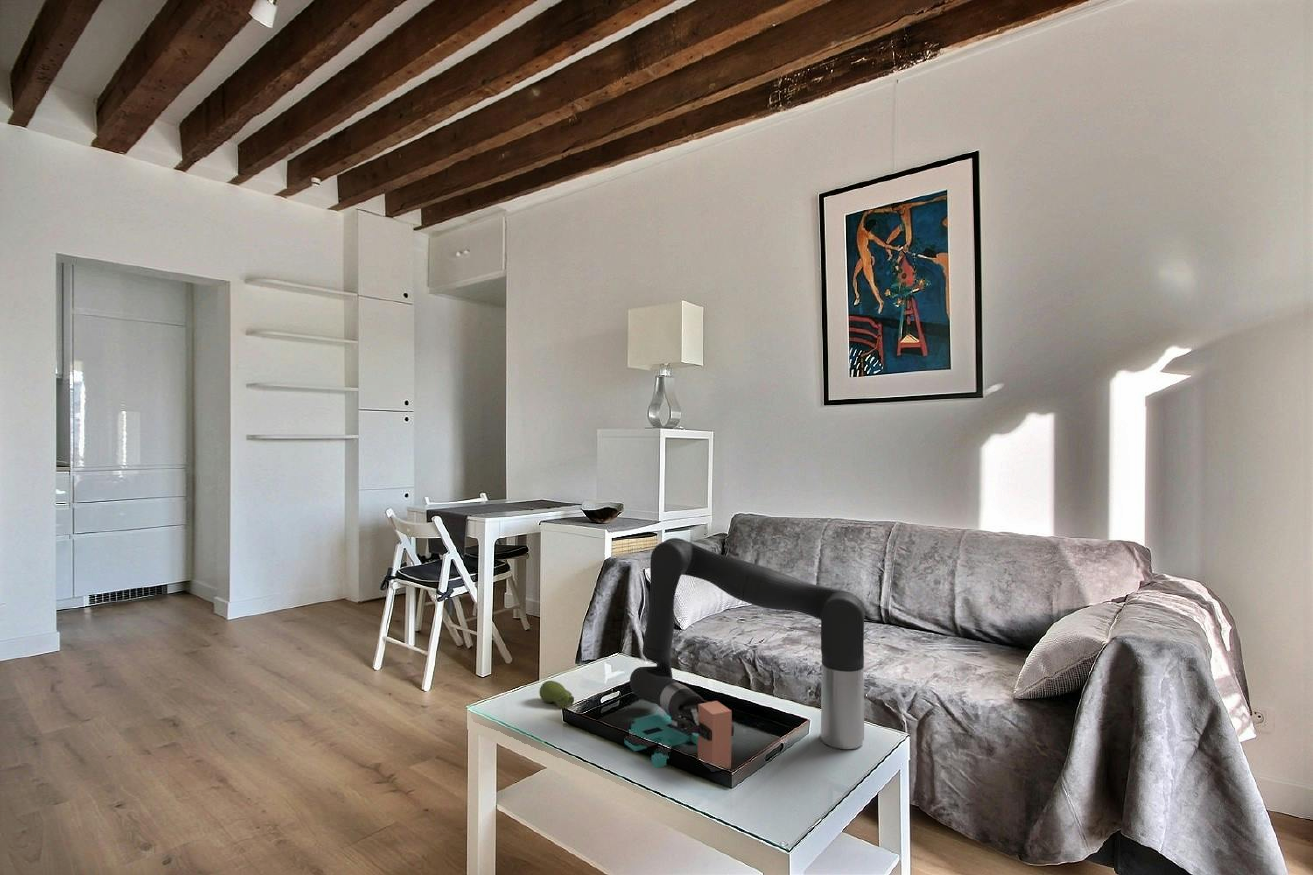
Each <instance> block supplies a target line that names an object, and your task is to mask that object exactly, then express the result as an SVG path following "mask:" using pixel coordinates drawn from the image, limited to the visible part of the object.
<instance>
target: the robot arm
mask: <svg viewBox="0 0 1313 875" xmlns="http://www.w3.org/2000/svg"><path fill="white" fill-rule="evenodd" d="M649 564H650V566H649V568H650V571H649V572H650V574H649V575H650V576H649V578H650V579H649V580H650V584H649V585H650V587H649V589H650V590H649V603H648V612H647V618H646V625H645V631H644V637H643V643H642V655H643V657H644V658H645V659H647V660H649V661H652V662H656V665H655V666H654V665H653V666H651V665H650V666H639V667H636V668H635V669H634V670H633V671H632V672H631V674H630V676H629V685H630V686H629V687H630V688H631V690H632V692H633V694H634V695H635V697H637V698H639V699H641V700H643V701H646V702H649V703H651V704H654V705H657V706H658V707H659V708H661V709H662V710H663V711H664V713H666V715H669V716H670V717H671V728H673V729H675V730H677V731H680V732H682V733H684V734H686V735H692V733H695V734H696V735H700V736H701V737H703V738H704V739H706V740H708V741H711V740H712V731H711V729H709V728H708V727H707V726H705V725H704V724H701V721H699V720H698V704H702V703H706V701H705V700H704V698H703V697H702V696H701V695H699V694H698V693H696V692H695V691H694V690H692V689H691V688H689V686H686V685H684V684H682V683H680V682H679V681H678V680H676V679H674V678H673V671H672V670H673V669H672V660H671V658H672V657H671V650H672V645H673V639H674V632H675V611H674V610H675V608H674V606H675V597H676V592H677V588H678V585H679V581H680V579H681V576H682V575H683V576H687V577H688V576H689V577H692V578H696V579H699V580H703V581H705V582H709V583H711V584H713V585H714V586H715V587H717V588H718V589H719V590H721V591H723V592H724V593H726V594H728V595H729V596H730V597H732V598H734V599H737V600H739V601H742V602H743V603H744V602H745V603H746V604H750V605H753V606H757V607H760V608H763V609H768V610H769V609H771V610H777V611H789V612H796V613H801V614H805V615H808V616H810V617H813V618H815V619H818V620H820V653H821V689H820V690H821V691H820V693H821V694H820V695H821V696H820V697H821V698H820V700H821V703H820V704H821V705H820V710H821V711H820V740H821V742H822V743H824V744H826V745H827V746H829V747H832V748H836V749H841V750H852V749H853V750H855V749H858V748H861V747H862V746H863V744H864V743H863V742H864V739H865V697H864V685H865V684H864V680H865V679H864V677H865V676H864V672H865V670H864V669H865V666H864V665H865V656H864V655H865V653H864V652H865V651H864V650H865V649H864V644H865V642H864V640H865V638H864V637H865V636H864V635H865V617H866V608H865V606H864V604H863V602H862V600H861V599H860V598H859V597H858V596H857V595H855V594H854V593H852V592H850V591H847V590H843V589H842V590H841V589H838V588H831V587H827V586H822V585H817V584H813V583H811V582H807V581H804V580H802V579H799V578H796V577H793V576H791V575H788V574H785V573H783V572H780V571H777V570H774V569H772V568H768V567H767V566H764V565H760V564H757V563H753V562H749V561H745V560H742V559H739V558H734V557H731V556H727V555H724V554H719V553H717V552H713V551H710V550H708V549H706V548H703V547H701V546H699V545H697V544H694V543H692V542H690V541H688V540H685V539H682V538H679V537H673V538H672V537H671V538H668V539H666V540H664V541H662V542H660V543H659V544H657V545H656V546H655V547H654V548H653V549H652V552H651V554H650V563H649ZM734 733H735V726H734V725H733V724H732V725H731V737H733V736H734Z"/></svg>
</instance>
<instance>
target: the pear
mask: <svg viewBox="0 0 1313 875" xmlns="http://www.w3.org/2000/svg"><path fill="white" fill-rule="evenodd" d="M539 696H540V699H541V700H542V701H543V702H545V703H555V704H556V707H557V708H559V709H562V710H565V709H566V708H565V707H568V708H570V707H572V706H573V705H574V702H575V697H574V696H573V695H572V693H571V691H569V690H568V689H566V688H565V687H564V686H563V685H562V683H561V682H560V683H559V682H558V681H555V680H546V681H544V682H543V683H542V684H541V686H540V687H539ZM571 705H572V706H571ZM569 706H570V707H569ZM564 708H565V709H564Z"/></svg>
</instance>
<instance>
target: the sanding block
mask: <svg viewBox="0 0 1313 875" xmlns="http://www.w3.org/2000/svg"><path fill="white" fill-rule="evenodd" d="M732 715H733V712H732V710H731V709H730V708H728V707H727V706H726V705H724V704H722V703H721V702H719V701H718V700H712V701H708V702H705V703H702V704H698V720H699V721H701V724H704V725H705V726H707V727H708V728H709V729H711V731H712V740H711V741H708V740H706V739H704V738H703V737H701V736H700V735H698V745H697V760H698V759H703V760H705V761H707V762H710V763H712V764H715V765H717V766H722V767H724V768H727V769H728V770H731V769H732V746H731V737H732V736H731V725H733V724H732V723H733V722H732V720H733V718H732Z"/></svg>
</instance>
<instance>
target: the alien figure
mask: <svg viewBox="0 0 1313 875" xmlns="http://www.w3.org/2000/svg"><path fill="white" fill-rule="evenodd" d="M630 726H631V727H630V728H631V729H627V732H628V731H629V732H631V733H633V734H636V735H638V736H639V737H642V738H647V739H651V740H653V741H654V742H657V743H661V744H662V745H668V746H669V747H671V748H672V749H673V747H675V746H678V745H681V744H686V743H690V742H691V743H693V744H694V745H696V746H698V735H696V734H695V733H692V735H686V734H684V733H682V732H680V731H677V730H675V729H673V728H671V717H670V716H669V715H668V714H666V715H662V714H660V713H659V712H657V713H654V714H650V715H645V716H641V717H637V718H634V723H632V724H630ZM624 745H626V746H627V747H628V748H630V749H631V750H632V751H634V752H638V751H641V750H645V749H648V748H647V747H645V746H641V745H639V746H634V745H632V744H631V743H629V742H628V741H626V740H625V739H624ZM733 745H734V743H733V736H731V747H733ZM668 759H670V755H669V756H668V755H663V754H662V753H658V754H657V753H655V752H654V754H652V755H651V764H652V766H654V767H655V768H657V769H659V768H662V767H665V766H667V760H668Z"/></svg>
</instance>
